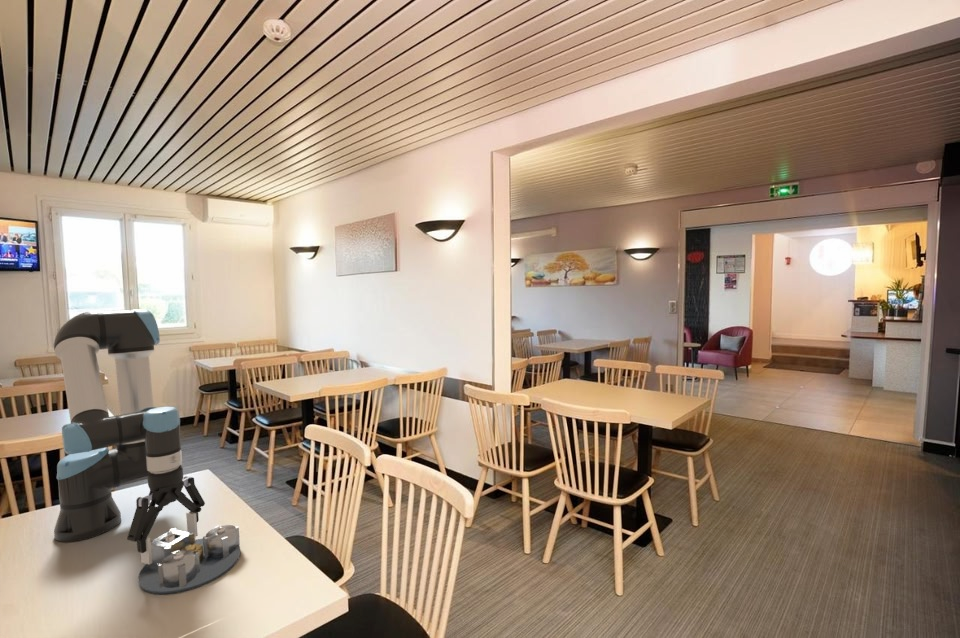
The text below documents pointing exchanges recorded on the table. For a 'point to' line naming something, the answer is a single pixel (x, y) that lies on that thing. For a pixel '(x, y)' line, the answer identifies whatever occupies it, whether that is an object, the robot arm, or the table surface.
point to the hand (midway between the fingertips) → (170, 548)
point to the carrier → (193, 563)
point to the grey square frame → (170, 544)
